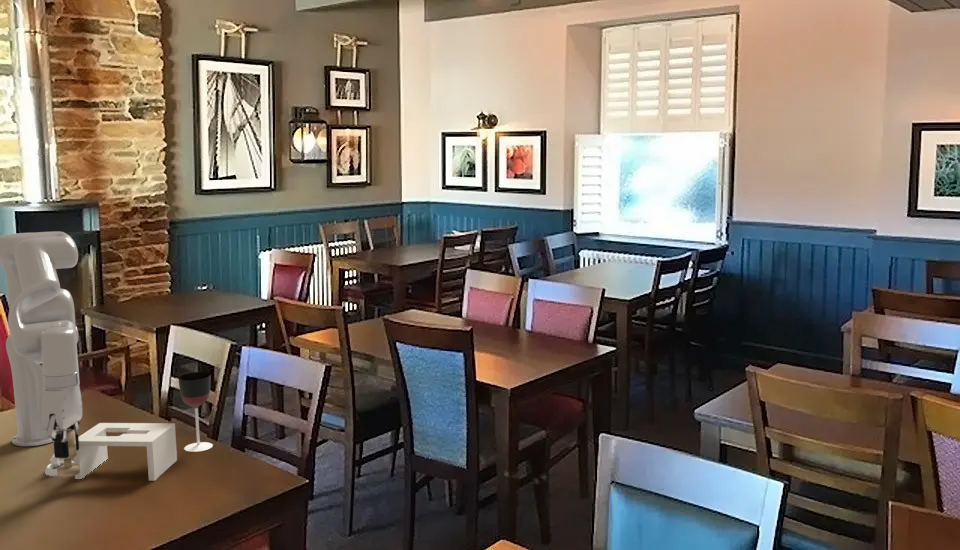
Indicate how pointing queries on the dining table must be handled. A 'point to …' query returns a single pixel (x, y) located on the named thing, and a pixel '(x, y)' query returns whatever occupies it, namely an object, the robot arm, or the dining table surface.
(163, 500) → the dining table surface
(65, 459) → the peg
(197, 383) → the wineglass
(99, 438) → the keyhole shelf
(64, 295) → the robot arm
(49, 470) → the hook
